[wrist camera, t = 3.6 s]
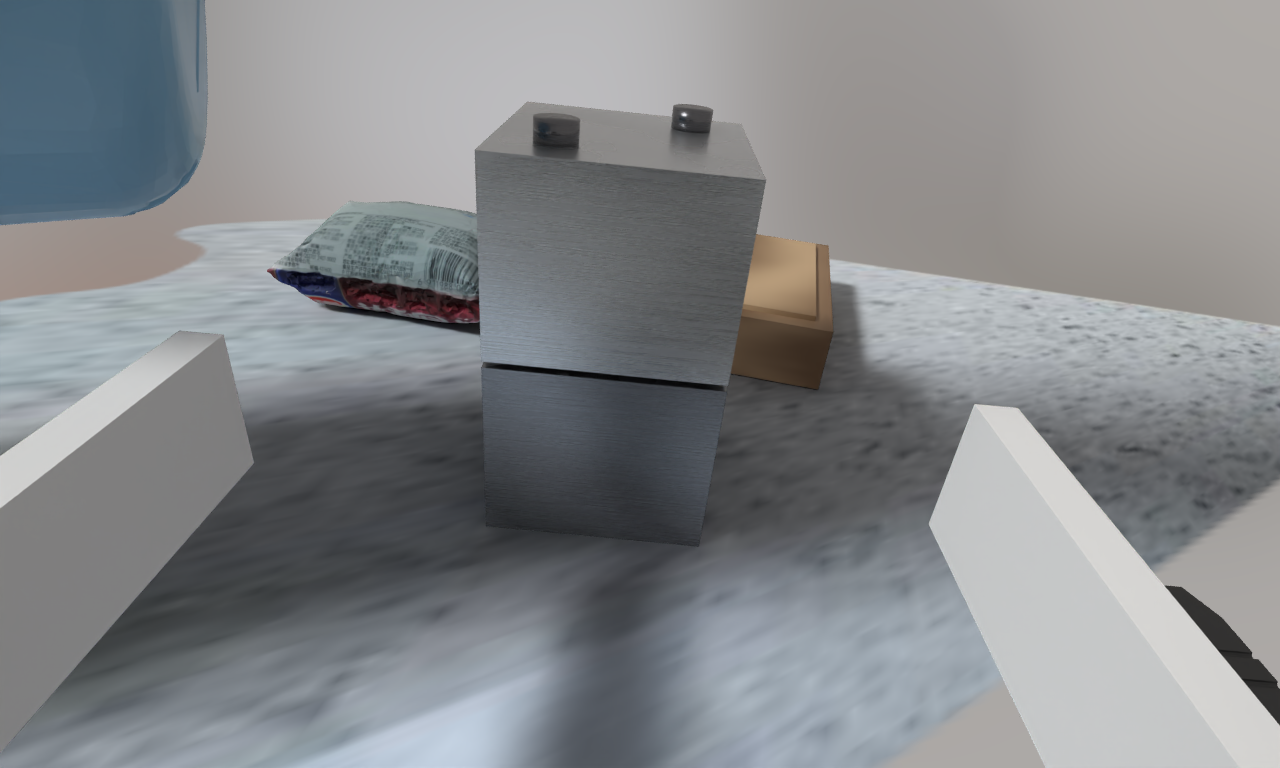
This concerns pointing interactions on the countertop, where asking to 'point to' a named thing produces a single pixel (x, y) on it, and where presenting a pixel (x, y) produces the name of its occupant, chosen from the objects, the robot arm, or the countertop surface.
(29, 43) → the robot arm
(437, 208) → the packaged food
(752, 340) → the stand
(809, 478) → the countertop surface
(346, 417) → the countertop surface
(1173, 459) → the countertop surface
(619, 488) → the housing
